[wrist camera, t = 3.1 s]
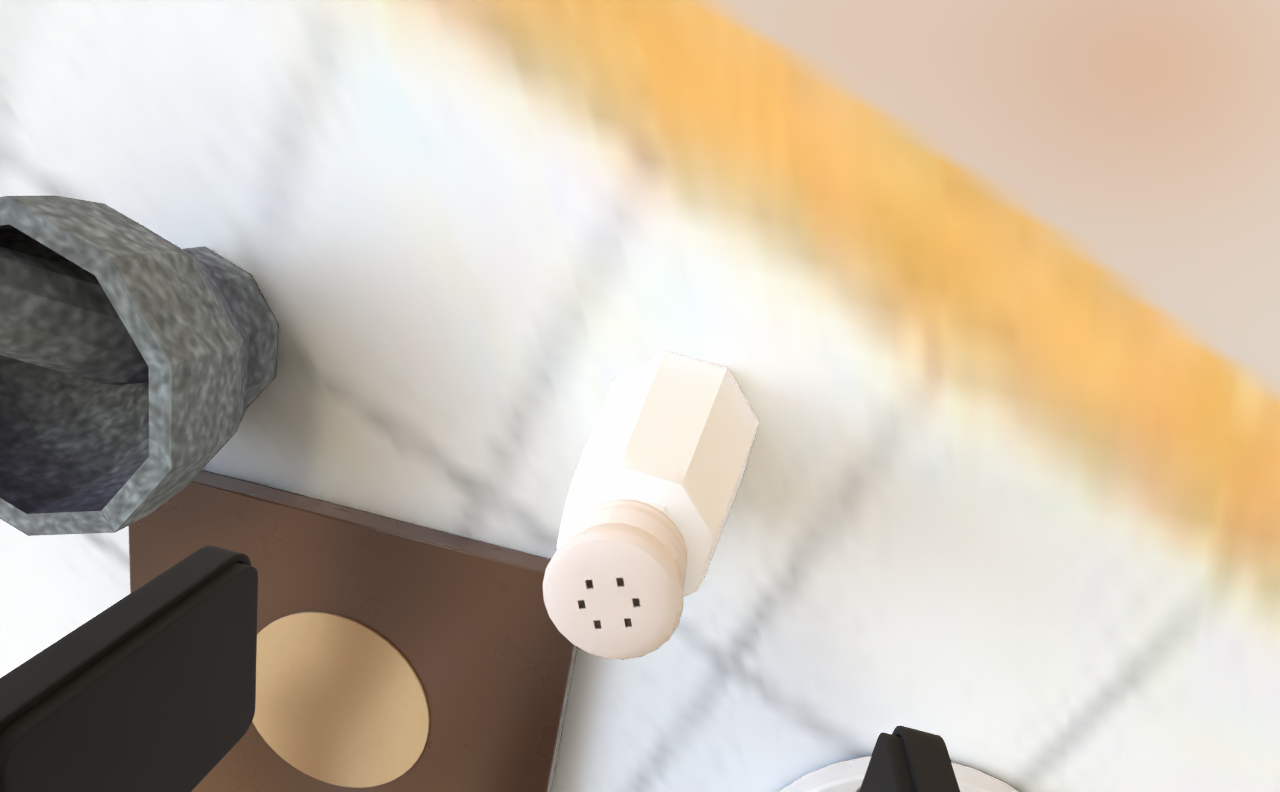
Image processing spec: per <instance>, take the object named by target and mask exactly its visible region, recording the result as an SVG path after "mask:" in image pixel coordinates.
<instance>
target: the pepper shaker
mask: <svg viewBox="0 0 1280 792" xmlns="http://www.w3.org/2000/svg"><path fill="white" fill-rule="evenodd" d="M758 425H759V420H758V418H757V417H756V415H755V413H754V412H753V410H752V408H751V406H750V405H749V403H748V401H747V400H746V398H745V396H744V395H743V393H742V391H741V389H740V388H739V386H738V384H737V383H736V381H735V379H734V378H733V376H732V374H731V372H730V371H729V369H728V367H724V366H721V365H717V364H713V363H710V362H706V361H702V360H699V359H695V358H691V357H687V356H684V355H680V354H676V353H673V352H669V351H663V352H662V353H660V354H658V355H656V356H655V357H653V358H651V359H649V360H648V361H646V362H644V363H642V364H641V365H639V366H637V367H635V368H634V369H632V370H630V371H628V372H627V373H625V374H623V375H621V376H620V377H618V378H616V379H614V380H613V381H612V382H611V385H610V387H609V390H608V392H607V395H606V397H605V400H604V402H603V405H602V407H601V410H600V412H599V415H598V417H597V419H596V422H595V424H594V427H593V429H592V432H591V434H590V437H589V439H588V442H587V444H586V447H585V449H584V452H583V454H582V457H581V459H580V461H579V464H578V466H577V469H576V471H575V474H574V476H573V479H572V482H571V486H570V489H569V493H568V496H567V499H566V503H565V507H564V512H563V516H562V521H561V525H560V530H559V534H558V540H557V546H556V548H557V551H556V552H555V554H554V555H553V557H552V559H551V560H550V562H549V564H548V566H547V567H546V571H545V575H544V580H543V584H542V585H543V599H544V603H545V606H546V609H547V612H548V614H549V617H550V618H551V620H552V621H553V623H554V624H555V626H556V627H557V629H558V630H559V632H560V633H561V634H563V635H564V636H565V637H566V638H567V639H568V640H569V641H570V642H571V643H572V644H574V645H575V646H577V647H579V648H580V649H582V650H584V651H586V652H587V653H590V654H593V655H596V656H599V657H603V658H610V659H622V660H624V659H630V658H636V657H641V656H644V655H646V654H648V653H650V652H653V651H655V650H657V649H658V648H659V647H660V646H662V645H663V644H664V643H665V642H666V641H668V640H669V639H670V637H671V636H672V634H673V632H674V631H675V629H676V628H677V626H678V624H679V620H680V617H681V613H682V610H683V597H684V596H686V595H689V594H691V593H693V592H695V591H697V590H698V589H699V587H700V585H701V583H702V581H703V579H704V577H705V574H706V572H707V569H708V567H709V564H710V561H711V559H712V556H713V554H714V551H715V548H716V546H717V543H718V541H719V538H720V535H721V533H722V530H723V528H724V525H725V522H726V520H727V517H728V514H729V512H730V509H731V507H732V504H733V501H734V499H735V496H736V494H737V491H738V488H739V486H740V483H741V481H742V478H743V474H744V471H745V468H746V464H747V461H748V458H749V454H750V451H751V448H752V445H753V441H754V438H755V435H756V431H757V428H758Z"/></svg>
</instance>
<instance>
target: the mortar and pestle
mask: <svg viewBox="0 0 1280 792" xmlns="http://www.w3.org/2000/svg"><path fill="white" fill-rule="evenodd" d="M277 342H278V323H277V322H276V320H275V318H274V316H273V314H272V312H271V311H270V309H269V307H268V305H267V303H266V301H265V300H264V298H263V296H262V294H261V292H260V291H259V289H258V287H257V285H256V283H255V281H254V280H253V278H252V276H251V275H250V274H249V273H247V272H245V271H244V270H242V269H240V268H239V267H237V266H235V265H234V264H232V263H230V262H229V261H227V260H225V259H224V258H222V257H220V256H219V255H217V254H215V253H214V252H212V251H210V250H209V249H207V248H205V247H197V248H189V249H180V248H179V247H177V246H175V245H174V244H172V243H170V242H169V241H167V240H165V239H164V238H162V237H160V236H159V235H157V234H155V233H154V232H152V231H150V230H149V229H147V228H145V227H144V226H142V225H140V224H139V223H137V222H135V221H133V220H131V219H130V218H128V217H126V216H124V215H123V214H121V213H119V212H117V211H116V210H114V209H112V208H110V207H109V206H107V205H105V204H102V203H96V202H90V201H84V200H78V199H72V198H66V197H60V196H5V197H0V519H2V520H3V521H5V522H7V523H8V524H10V525H12V526H13V527H15V528H17V529H18V530H20V531H21V532H23V533H25V534H26V535H28V536H29V535H56V534H84V533H112V532H117V531H118V530H120V529H122V528H124V527H126V526H128V525H130V524H132V523H134V522H136V521H138V520H140V519H142V518H143V517H145V516H147V515H149V514H151V513H153V512H154V511H155V510H157V509H158V508H159V507H160V506H162V505H163V504H164V503H166V502H167V501H168V500H169V499H171V498H172V497H173V496H175V495H176V494H177V493H179V492H180V491H181V490H182V489H184V488H185V487H186V486H187V485H188V484H189V483H190V482H191V481H192V480H193V478H194V477H195V476H196V475H197V474H198V473H199V472H200V471H201V470H202V469H203V468H204V467H205V465H206V464H207V463H208V462H209V461H210V460H211V459H212V458H213V457H214V456H215V455H216V454H217V452H218V451H219V450H220V449H221V448H222V447H223V446H224V445H225V444H226V443H227V442H228V441H229V439H230V438H231V437H232V436H233V435H234V434H235V433H236V431H237V429H238V426H239V424H240V422H241V420H242V417H243V415H244V413H245V411H246V408H247V407H248V406H249V405H250V404H251V403H252V402H253V401H254V400H255V399H256V397H257V396H258V395H259V394H260V393H261V392H262V391H263V390H264V389H265V388H266V387H267V385H268V384H269V383H270V382H271V381H272V380H273V379H274V378H275V377H276V362H277Z"/></svg>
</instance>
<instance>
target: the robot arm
mask: <svg viewBox="0 0 1280 792" xmlns="http://www.w3.org/2000/svg"><path fill="white" fill-rule="evenodd" d="M257 607H258V572H257V570H256V568H254V567H252V566H251V561H250V559H249V557H248V556H247V555H245V554H243V553H239V552H235V551H231V550H227V549H223V548H220V547H216V546H205V547H202V548H200V549H199V550H197V551H196V552H194V553H193V554H191V555H189V556H188V557H186V558H185V559H183V560H182V561H180V562H179V563H177V564H176V565H174V566H173V567H171V568H169V569H168V570H166V571H165V572H163V573H162V574H160V575H159V576H157V577H156V578H154V579H153V580H151V581H149V582H148V583H146V584H145V585H143V586H142V587H140V588H139V589H137V590H136V591H134V592H133V593H131V594H129V595H128V596H126V597H125V598H123V599H122V600H120V601H119V602H117V603H116V604H114V605H113V606H111V607H109V608H108V609H106V610H105V611H103V612H102V613H100V614H99V615H97V616H96V617H94V618H93V619H91V620H90V621H88V622H86V623H85V624H83V625H82V626H80V627H79V628H77V629H76V630H74V631H73V632H71V633H70V634H68V635H66V636H65V637H63V638H62V639H60V640H59V641H57V642H56V643H54V644H53V645H51V646H50V647H48V648H46V649H45V650H43V651H42V652H40V653H39V654H37V655H36V656H34V657H33V658H31V659H30V660H28V661H26V662H25V663H23V664H22V665H20V666H19V667H17V668H16V669H14V670H13V671H11V672H10V673H8V674H6V675H5V676H3V677H2V678H0V792H191V791H192V790H193V789H194V788H195V787H196V786H197V785H198V784H199V783H200V782H201V781H202V780H203V778H204V777H205V776H206V775H207V774H208V773H209V772H210V771H211V770H212V769H213V768H214V767H215V766H216V765H217V764H218V763H219V761H220V760H221V759H222V758H223V757H224V756H225V755H226V754H227V753H228V752H229V751H230V750H231V749H232V748H233V747H234V746H235V744H236V743H237V742H238V741H239V740H240V739H241V738H242V737H243V736H244V734H245V733H246V732H247V730H248V728H249V727H250V725H251V723H252V720H253V717H254V714H255V701H256V654H257ZM779 792H1019V791H1017V790H1016V789H1014V788H1013V787H1011V786H1010V785H1008V784H1007V783H1005V782H1003V781H1001V780H998V779H996V778H994V777H992V776H989V775H987V774H985V773H983V772H981V771H978V770H976V769H974V768H970V767H967V766H963V765H959V764H956V763H952V762H951V761H950V757H949V754H948V751H947V748H946V745H945V743H944V740H943V738H941V737H940V736H938V735H934V734H930V733H926V732H923V731H919V730H915V729H911V728H907V727H904V726H897V727H896V728H895V730H894V731H893V734H892V735H890V734H887V733H881V734H880V735H879V737H878V739H877V742H876V745H875V748H874V751H873V753H872V756H867V757H862V758H857V759H852V760H847V761H842V762H837V763H834V764H831V765H829V766H826V767H823V768H821V769H818V770H816V771H813V772H810V773H808V774H806V775H804V776H802V777H801V778H799V779H798V780H796V781H794V782H793V783H791V784H789V785H788V786H786V787H785V788H783V789H781V790H780V791H779Z"/></svg>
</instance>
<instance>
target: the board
mask: <svg viewBox="0 0 1280 792" xmlns="http://www.w3.org/2000/svg"><path fill="white" fill-rule="evenodd" d="M205 546H216V547H220V548H223V549H227V550H231V551H235V552H239V553H243V554H245V555H247V556H248V557H249V559H250V561H251V566H252V567H254V568H256V570H257V572H258V607H257V654H256V701H255V714H254V717H253V720H252V723H251V725H250V727H249V728H248V730H247V732H246V733H245V734H244V736H243V737H242V738H241V739H240V740H239V741H238V742H237V743H236V744H235V746H234V747H233V748H232V749H231V750H230V751H229V752H228V753H227V754H226V755H225V756H224V757H223V758H222V759H221V760H220V761H219V763H218V764H217V765H216V766H215V767H214V768H213V769H212V770H211V771H210V772H209V773H208V774H207V775H206V776H205V777H204V778H203V780H202V781H201V782H200V783H199V784H198V785H197V786H196V787H195V788H194V789H193V790H192V791H191V792H551V788H552V783H553V777H554V772H555V766H556V761H557V755H558V750H559V744H560V739H561V734H562V728H563V723H564V717H565V712H566V706H567V701H568V695H569V690H570V685H571V679H572V674H573V668H574V663H575V657H576V652H577V646H575V645H574V644H572V643H571V642H570V641H569V640H568V639H567V638H566V637H565V636H564V635H563V634H561V633H560V632H559V630H558V629H557V627H556V626H555V624H554V623H553V621H552V620H551V618H550V617H549V614H548V612H547V609H546V606H545V603H544V599H543V585H542V584H543V580H544V575H545V571H546V567H547V566H548V564H549V562H550V559H547V558H543V557H539V556H535V555H531V554H527V553H523V552H519V551H515V550H511V549H507V548H504V547H500V546H496V545H492V544H488V543H484V542H480V541H476V540H472V539H468V538H465V537H461V536H457V535H453V534H449V533H445V532H441V531H437V530H433V529H429V528H425V527H422V526H418V525H414V524H410V523H406V522H402V521H398V520H394V519H390V518H386V517H382V516H379V515H375V514H371V513H367V512H363V511H359V510H355V509H351V508H347V507H343V506H340V505H336V504H332V503H328V502H324V501H320V500H316V499H312V498H308V497H304V496H300V495H297V494H293V493H289V492H285V491H281V490H277V489H273V488H269V487H265V486H261V485H258V484H254V483H250V482H246V481H242V480H238V479H234V478H230V477H226V476H222V475H218V474H215V473H211V472H207V471H203V470H201V471H200V472H199V473H198V474H197V475H196V476H195V477H194V478H193V480H192V481H191V482H190V483H189V484H188V485H187V486H186V487H185V488H184V489H182V490H181V491H180V492H179V493H177V494H176V495H175V496H173V497H172V498H171V499H169V500H168V501H167V502H166V503H164V504H163V505H162V506H160V507H159V508H158V509H157V510H155V511H154V512H153V513H151V514H149V515H147V516H145V517H143V518H142V519H140V520H138V521H136V522H134V523H132V524H130V525H129V555H130V589H131V593H133V592H134V591H136V590H137V589H139V588H140V587H142V586H143V585H145V584H146V583H148V582H149V581H151V580H153V579H154V578H156V577H157V576H159V575H160V574H162V573H163V572H165V571H166V570H168V569H169V568H171V567H173V566H174V565H176V564H177V563H179V562H180V561H182V560H183V559H185V558H186V557H188V556H189V555H191V554H193V553H194V552H196V551H197V550H199V549H200V548H202V547H205Z"/></svg>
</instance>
